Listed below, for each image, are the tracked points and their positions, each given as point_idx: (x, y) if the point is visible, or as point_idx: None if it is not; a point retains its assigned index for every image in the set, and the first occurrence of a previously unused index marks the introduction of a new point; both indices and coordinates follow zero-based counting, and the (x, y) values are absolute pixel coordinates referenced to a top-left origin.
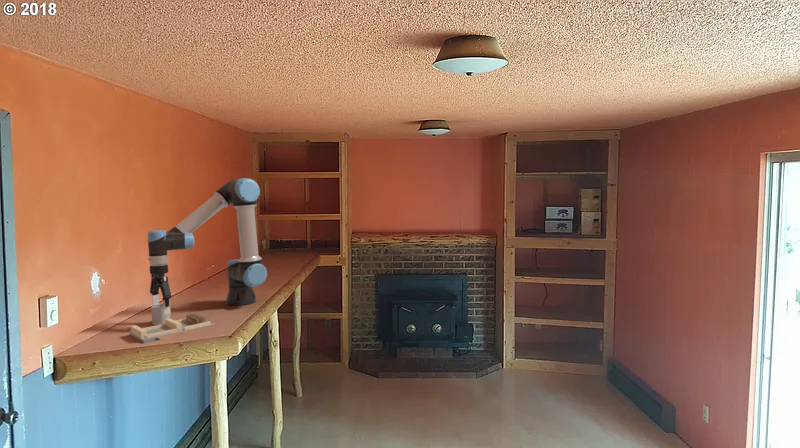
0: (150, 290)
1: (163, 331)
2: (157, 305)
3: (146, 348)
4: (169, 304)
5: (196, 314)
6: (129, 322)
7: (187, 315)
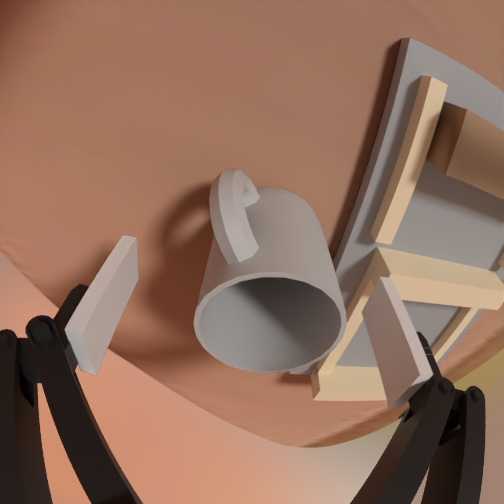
0: (23, 392)
1: (455, 334)
2: (200, 315)
3: (460, 373)
4: (413, 334)
5: (496, 133)
6: (58, 276)
7: (460, 177)
